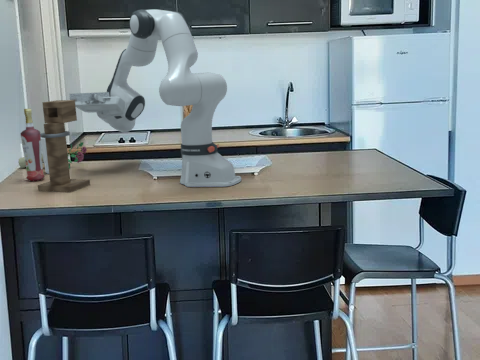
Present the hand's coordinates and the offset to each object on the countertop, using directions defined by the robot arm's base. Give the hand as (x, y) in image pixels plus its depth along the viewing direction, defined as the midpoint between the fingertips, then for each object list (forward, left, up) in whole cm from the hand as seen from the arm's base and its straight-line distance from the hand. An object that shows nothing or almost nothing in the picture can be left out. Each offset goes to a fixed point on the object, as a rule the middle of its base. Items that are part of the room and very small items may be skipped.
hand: (89, 95), depth 234 cm
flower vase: (+29, -11, -32) cm, 45 cm away
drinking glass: (+24, -3, -32) cm, 40 cm away
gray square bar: (0, -1, -2) cm, 2 cm away
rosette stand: (0, +21, -32) cm, 38 cm away
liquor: (+21, +11, -32) cm, 40 cm away
